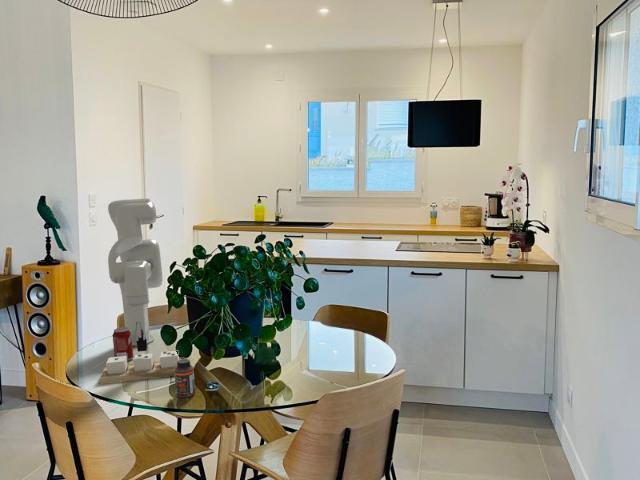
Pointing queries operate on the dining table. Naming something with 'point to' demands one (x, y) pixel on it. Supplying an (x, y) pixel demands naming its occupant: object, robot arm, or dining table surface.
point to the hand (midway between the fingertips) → (142, 350)
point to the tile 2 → (143, 362)
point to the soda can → (123, 343)
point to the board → (137, 373)
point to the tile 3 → (169, 359)
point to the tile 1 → (116, 365)
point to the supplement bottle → (184, 379)
